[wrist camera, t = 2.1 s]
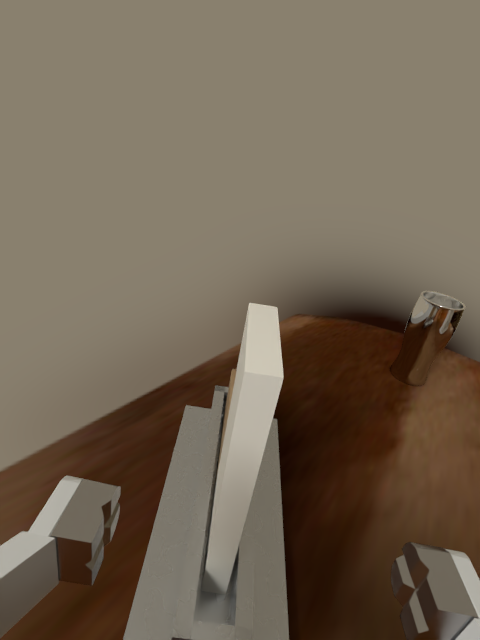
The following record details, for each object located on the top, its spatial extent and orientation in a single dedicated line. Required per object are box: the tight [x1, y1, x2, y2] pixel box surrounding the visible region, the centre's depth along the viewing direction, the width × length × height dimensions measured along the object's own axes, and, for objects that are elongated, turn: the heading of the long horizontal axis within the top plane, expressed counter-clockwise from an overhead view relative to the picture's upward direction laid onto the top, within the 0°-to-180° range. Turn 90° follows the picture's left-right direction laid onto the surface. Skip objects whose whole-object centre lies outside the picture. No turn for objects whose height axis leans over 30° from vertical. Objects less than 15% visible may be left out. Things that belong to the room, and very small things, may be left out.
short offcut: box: [219, 369, 237, 449], centre depth 41 cm, size 2×5×8 cm, turn 177°
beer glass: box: [390, 291, 465, 386], centre depth 60 cm, size 7×7×15 cm
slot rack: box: [123, 385, 289, 640], centre depth 35 cm, size 12×25×6 cm, turn 177°
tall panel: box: [201, 303, 284, 594], centre depth 27 cm, size 2×8×22 cm, turn 177°
